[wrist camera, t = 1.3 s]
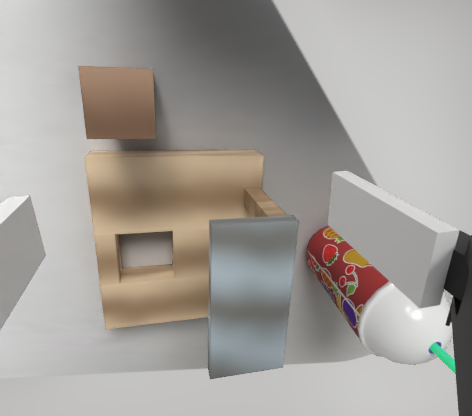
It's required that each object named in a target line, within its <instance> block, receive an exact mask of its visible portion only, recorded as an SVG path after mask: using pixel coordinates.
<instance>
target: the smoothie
mask: <svg viewBox="0 0 472 416" xmlns="http://www.w3.org/2000/svg"><path fill="white" fill-rule="evenodd" d="M307 261H308V264H309V267H310V268H311V270H312V271H313V273H314V274H315V276H316V277H317V278H318V280H319V281H320V283H321V284H322V286H323V287H324V289H325V290H326V291H327V293H328V294H329V296H330V297H331V299H332V300H333V301H334V303H335V304H336V306H337V307H338V309H339V310H340V312H341V313H342V314H343V316H344V317H345V319H346V320H347V322H348V323H349V325H350V326H351V327H352V329H353V330H354V332H355V333H356V335H357V336H358V337H359V339H360V341H361V343H362V344H363V346H364V347H365V348H366V350H367V351H369V352H371V353H373V354H375V355H376V356H382V357H385V358H387V359H389V360H391V361H393V362H397V363H401V364H414V365H415V364H421V363H425V362H428V361H431V360H433V359H435V358H436V357H439V358H440V359H441V360H442V361H443V362H444V363H445V364H446V365H447V366H448V367H449V368H450V369H451V370H452V371H453V372H454V373H455V374H456V370H455V360H454V359H453V358H452V357H451V356H450V355H448V354H447V353H446V352H445V351H444V350H445V349H446V348H447V346H448V345H449V343H450V341H451V338H452V334H453V331H452V322H451V323H450V326H446V325H445V324H446V321H447V317H448V314H449V310H450V306H449V304H448V302H447V300H446V294H445V292H443V295H442V299H441V303H440V305H438V306H432V307H426V308H419V307H417V306H416V305H415V304H414V303H413V302H412V301H411V300H410V299H409V298H408V297H406V296H405V295H404V294H403V293H402V292H401V291H400V290H399V289H398V288H397V287H395V286H394V285H393V284H392V283H391V282H390V281H389V280H388V279H387V278H386V277H384V276H383V275H382V274H381V273H380V272H379V271H378V270H377V269H376V268H375V267H373V266H372V265H371V264H370V263H369V262H368V261H367V260H366V259H365V258H364V257H362V256H361V255H360V254H359V253H358V252H357V251H356V250H355V249H354V248H353V247H352V246H350V245H349V244H348V243H347V242H346V241H345V240H344V239H343V238H342V237H341V236H339V235H338V234H337V233H336V232H335V231H334V230H333V229H332V228H331V227H330V226H328V227H325V228H323V229H320V230H319V231H318V232H317V233H315V234H314V235H313V237H312V238H311V240H310V242H309V244H308V247H307Z"/></svg>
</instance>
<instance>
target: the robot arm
mask: <svg viewBox="0 0 472 416" xmlns="http://www.w3.org/2000/svg"><path fill="white" fill-rule="evenodd" d="M327 225H328V226H330V227H331V228H332V229H333V230H334V231H335V232H336V233H337V234H338V235H339V236H341V237H342V238H343V239H344V240H345V241H346V242H347V243H348V244H349V245H350V246H352V247H353V248H354V249H355V250H356V251H357V252H358V253H359V254H360V255H361V256H362V257H364V258H365V259H366V260H367V261H368V262H369V263H370V264H371V265H372V266H373V267H375V268H376V269H377V270H378V271H379V272H380V273H381V274H382V275H383V276H384V277H386V278H387V279H388V280H389V281H390V282H391V283H392V284H393V285H394V286H395V287H397V288H398V289H399V290H400V291H401V292H402V293H403V294H404V295H405V296H406V297H408V298H409V299H410V300H411V301H412V302H413V303H414V304H415V305H416V306H417V307H419V308H426V307H432V306H438V305H440V303H441V299H442V295H443V292H444V289H445V290H447V291H448V292H449V293H450V294H452V295H453V299H452V303H451V307H450V310H449V314H448V317H447V321H446V324H445V325H446V326H450V323H451V322H452V331H453V344H454V357H455V370H456V383H457V395H458V409H459V416H472V235H471V236H470V235H468V234H466V233H464V232H462V231H460V230H458V229H457V228H455V227H453V226H451V225H449V224H447V223H445V222H443V221H441V220H440V219H438V218H436V217H434V216H432V215H430V214H428V213H426V212H424V211H423V210H421V209H419V208H417V207H415V206H413V205H411V204H409V203H407V202H406V201H404V200H402V199H400V198H398V197H396V196H394V195H392V194H390V193H388V192H386V191H385V190H383V189H381V188H379V187H377V186H375V185H373V184H372V183H370V182H368V181H366V180H364V179H362V178H360V177H358V176H356V175H355V174H353V173H351V172H349V171H337V172H332V182H331V192H330V203H329V213H328V223H327ZM45 256H46V254H45V251H44V247H43V243H42V239H41V235H40V231H39V228H38V224H37V220H36V216H35V212H34V209H33V205H32V201H31V197H30V195H29V196H16V197H8V198H7V199H6V200H5V201H4V202H3V203H1V204H0V330H1V328H2V326H3V325H4V323H5V321H6V320H7V318H8V317H9V315H10V313H11V312H12V310H13V308H14V307H15V305H16V303H17V302H18V300H19V298H20V297H21V295H22V294H23V292H24V290H25V289H26V287H27V285H28V284H29V282H30V280H31V279H32V277H33V276H34V274H35V272H36V271H37V269H38V267H39V266H40V264H41V262H42V261H43V259H44V257H45Z"/></svg>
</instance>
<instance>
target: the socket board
mask: <svg viewBox="0 0 472 416" xmlns="http://www.w3.org/2000/svg"><path fill="white" fill-rule="evenodd" d="M85 164H86V172H87V180H88V188H89V196H90V205H91V213H92V221H93V229H94V238H95V246H96V254H97V262H98V270H99V279H100V287H101V295H102V303H103V312H104V320H105V328H106V329H113V328H121V327H130V326H138V325H147V324H155V323H163V322H172V321H180V320H189V319H197V318H206V317H208V370H209V376H210V379H213V378H220V377H226V376H233V375H239V374H245V373H251V372H258V371H264V370H270V369H276V368H282V367H283V363H284V353H285V344H286V335H287V326H288V316H289V307H290V298H291V288H292V279H293V270H294V260H295V251H296V242H297V233H298V223H299V221H298V220H297V219H296V218H295V217H294V216H293V215H287V214H286V213H285V212H284V211H283V210H282V209H281V208H280V207H279V206H278V205H277V204H276V203H275V202H274V201H273V200H272V199H271V198H270V197H269V196H268V195H267V194H266V193H265V192H264V191H263V190H262V179H263V164H264V155H262V154H261V153H259V152H258V151H256V150H168V151H90V152H89V154H88V155H87V156H86V157H85ZM163 231H172V248H173V264H171V265H158V266H146V267H134V268H122V262H121V251H120V241H119V234H130V233H146V232H163Z"/></svg>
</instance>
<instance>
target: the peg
mask: <svg viewBox="0 0 472 416" xmlns="http://www.w3.org/2000/svg"><path fill="white" fill-rule="evenodd" d="M78 67H79V76H80V84H81V93H82V101H83V110H84V118H85V127H86V135H87V139H156V124H155V102H154V81H153V69H138V68H115V67H93V66H78Z"/></svg>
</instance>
